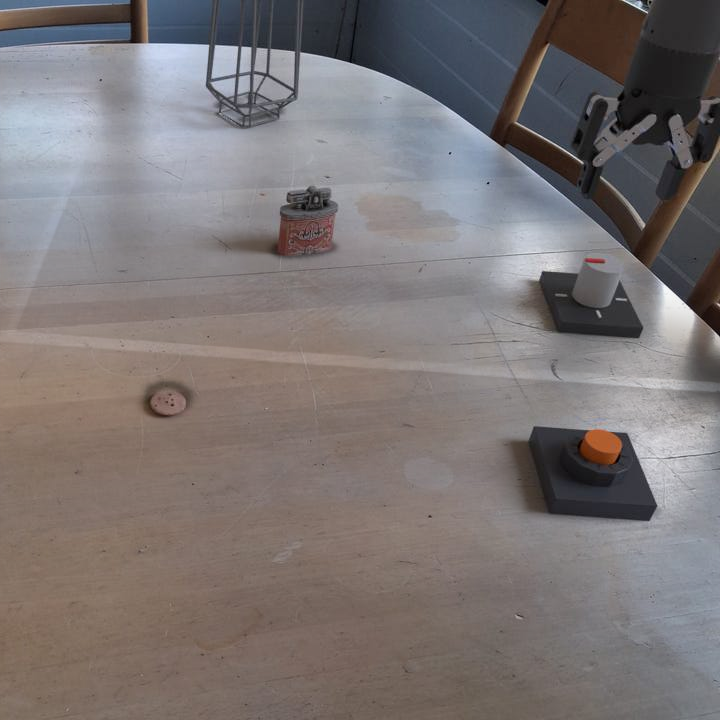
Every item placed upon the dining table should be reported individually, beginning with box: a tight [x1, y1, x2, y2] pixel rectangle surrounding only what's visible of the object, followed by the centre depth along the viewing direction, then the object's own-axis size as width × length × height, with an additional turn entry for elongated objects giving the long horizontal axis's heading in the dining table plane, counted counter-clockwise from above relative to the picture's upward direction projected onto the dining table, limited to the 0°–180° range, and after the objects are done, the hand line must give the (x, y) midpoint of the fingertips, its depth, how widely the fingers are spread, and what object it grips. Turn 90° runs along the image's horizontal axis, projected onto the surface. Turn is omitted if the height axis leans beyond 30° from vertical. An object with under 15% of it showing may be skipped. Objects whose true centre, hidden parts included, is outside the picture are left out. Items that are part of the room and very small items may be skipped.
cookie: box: [149, 390, 187, 416], centre depth 98 cm, size 4×4×1 cm
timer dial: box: [572, 252, 625, 308], centre depth 112 cm, size 5×5×5 cm
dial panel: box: [538, 270, 644, 339], centre depth 115 cm, size 10×12×3 cm
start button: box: [580, 428, 622, 465], centre depth 90 cm, size 4×4×2 cm
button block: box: [528, 425, 658, 522], centre depth 92 cm, size 10×11×4 cm
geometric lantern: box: [205, 0, 304, 128], centre depth 145 cm, size 16×16×35 cm
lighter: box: [277, 185, 339, 257], centre depth 119 cm, size 8×3×10 cm, turn 111°
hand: (623, 197), depth 96 cm, fingers open, 8 cm apart
